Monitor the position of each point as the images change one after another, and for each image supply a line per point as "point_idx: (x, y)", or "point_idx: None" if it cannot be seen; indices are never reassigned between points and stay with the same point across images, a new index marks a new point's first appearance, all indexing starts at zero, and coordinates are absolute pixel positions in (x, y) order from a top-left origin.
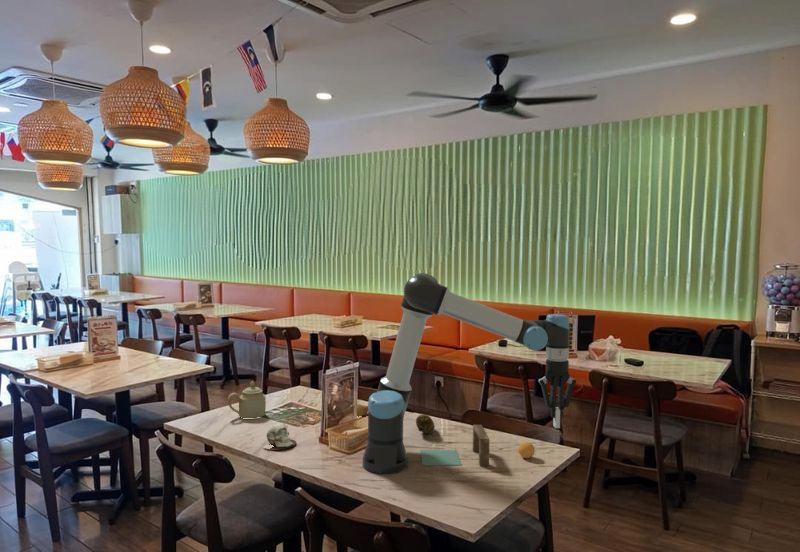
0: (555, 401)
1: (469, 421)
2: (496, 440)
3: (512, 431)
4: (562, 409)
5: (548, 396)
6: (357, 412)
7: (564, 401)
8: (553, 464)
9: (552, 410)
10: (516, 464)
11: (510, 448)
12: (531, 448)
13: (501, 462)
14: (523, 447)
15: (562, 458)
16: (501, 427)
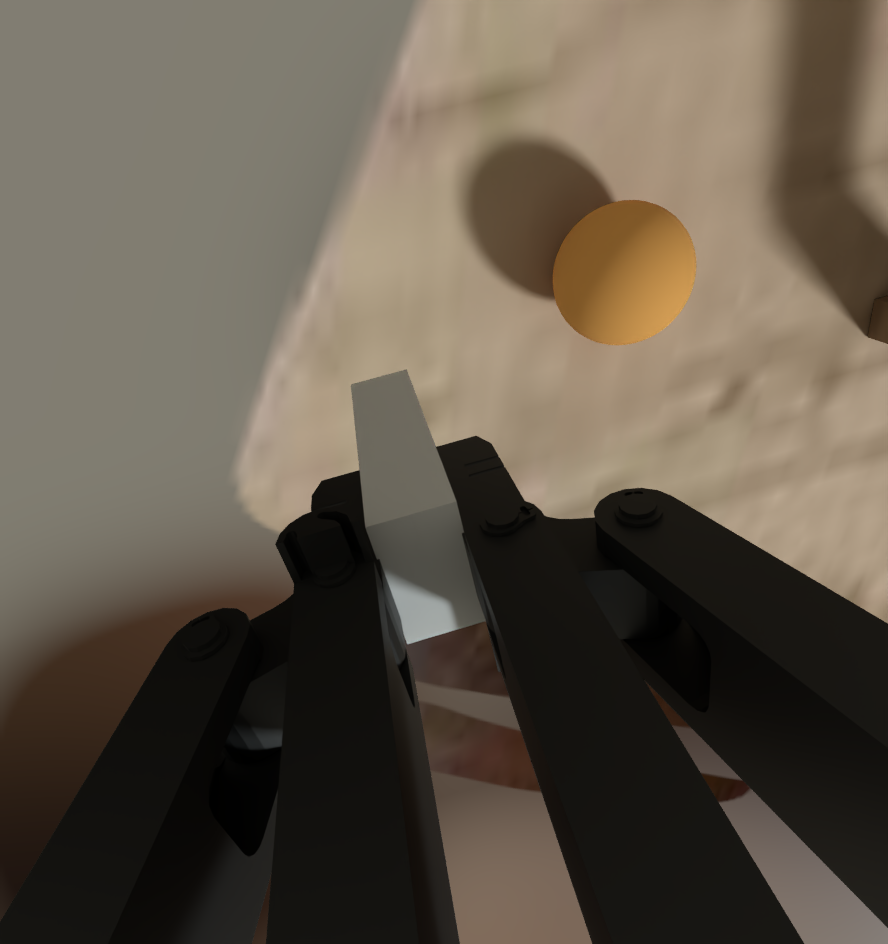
0: (518, 628)
1: None
2: (719, 522)
3: None
4: (316, 513)
5: (830, 694)
6: None
7: (265, 775)
8: (396, 163)
9: (513, 497)
10: (700, 86)
11: (666, 417)
12: (605, 231)
13: (805, 107)
14: (677, 224)
15: (319, 323)
16: None
